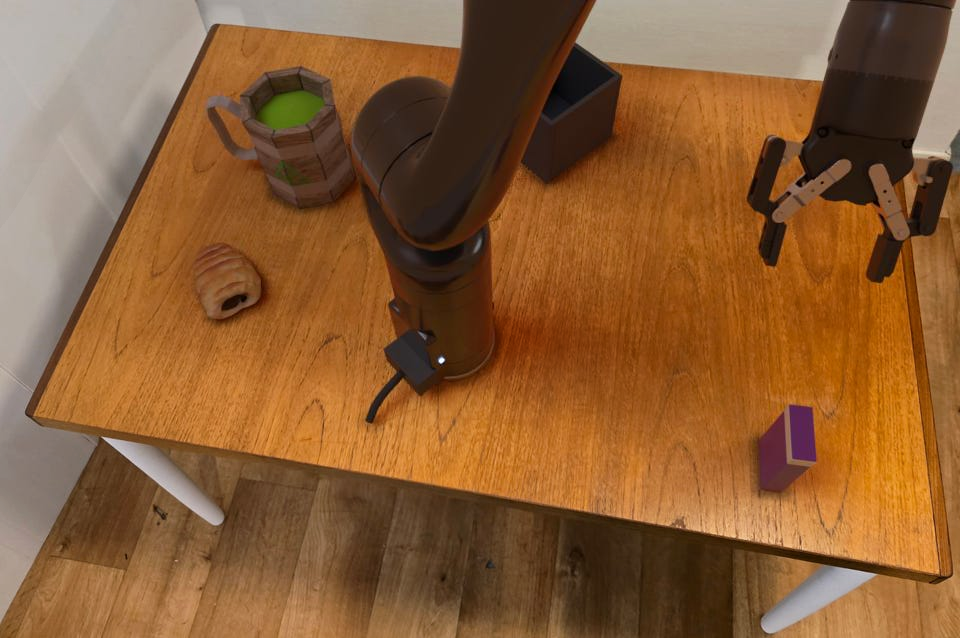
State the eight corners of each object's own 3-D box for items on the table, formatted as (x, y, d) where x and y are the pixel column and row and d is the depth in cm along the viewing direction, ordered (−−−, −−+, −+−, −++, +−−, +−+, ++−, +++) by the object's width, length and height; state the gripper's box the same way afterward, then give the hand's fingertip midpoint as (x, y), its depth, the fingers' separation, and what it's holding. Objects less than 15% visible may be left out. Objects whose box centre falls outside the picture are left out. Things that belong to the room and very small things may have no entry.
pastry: (185, 265, 85) (172, 246, 82) (240, 240, 86) (230, 220, 83) (213, 327, 81) (201, 309, 77) (271, 300, 82) (262, 281, 79)
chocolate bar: (759, 490, 70) (791, 459, 63) (757, 439, 73) (788, 403, 65) (782, 493, 70) (817, 462, 62) (780, 442, 73) (813, 406, 65)
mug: (365, 145, 93) (348, 70, 82) (343, 214, 88) (321, 143, 77) (246, 131, 95) (214, 56, 84) (217, 198, 90) (179, 127, 79)
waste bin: (547, 184, 89) (551, 125, 81) (484, 133, 93) (482, 72, 85) (611, 136, 93) (622, 75, 84) (549, 89, 97) (553, 26, 88)
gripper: (795, 59, 54) (741, 271, 60) (1003, 84, 52) (927, 300, 58) (774, 57, 61) (727, 248, 67) (957, 79, 59) (893, 272, 65)
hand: (820, 272), depth 62 cm, fingers open, 8 cm apart
